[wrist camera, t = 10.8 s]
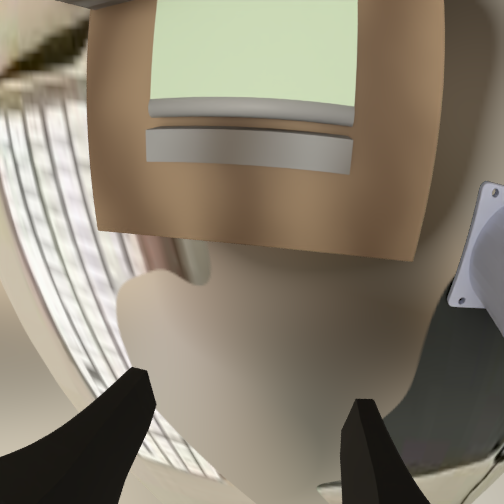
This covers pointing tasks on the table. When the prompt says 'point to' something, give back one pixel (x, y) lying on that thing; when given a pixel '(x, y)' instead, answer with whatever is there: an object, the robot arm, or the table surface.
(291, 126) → the board
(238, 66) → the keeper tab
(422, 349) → the table surface
